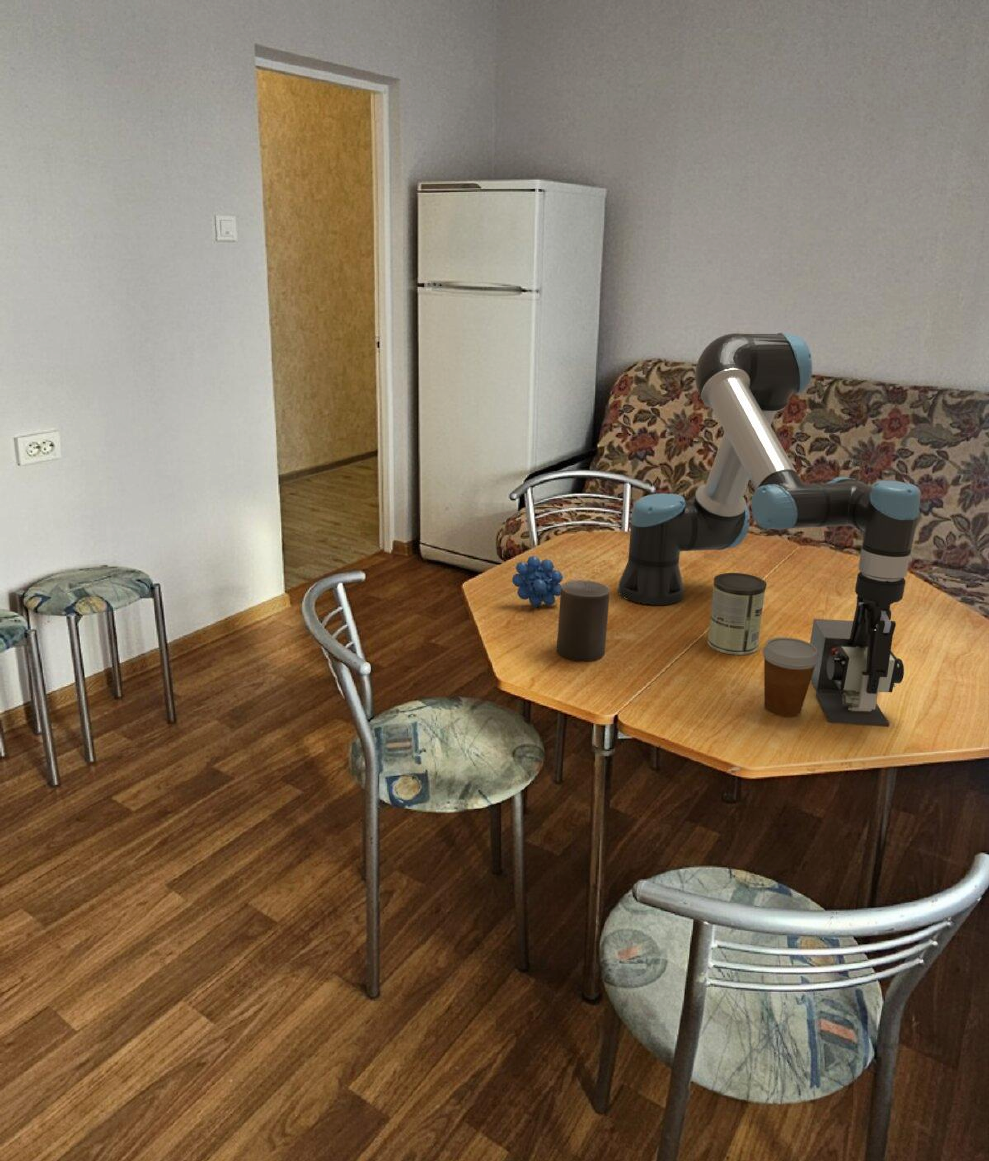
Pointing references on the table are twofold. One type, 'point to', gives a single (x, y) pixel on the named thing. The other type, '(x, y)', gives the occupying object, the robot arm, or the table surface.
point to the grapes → (537, 581)
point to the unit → (828, 650)
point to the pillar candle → (583, 620)
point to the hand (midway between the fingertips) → (860, 697)
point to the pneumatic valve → (859, 674)
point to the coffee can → (736, 613)
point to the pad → (848, 712)
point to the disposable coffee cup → (787, 674)
